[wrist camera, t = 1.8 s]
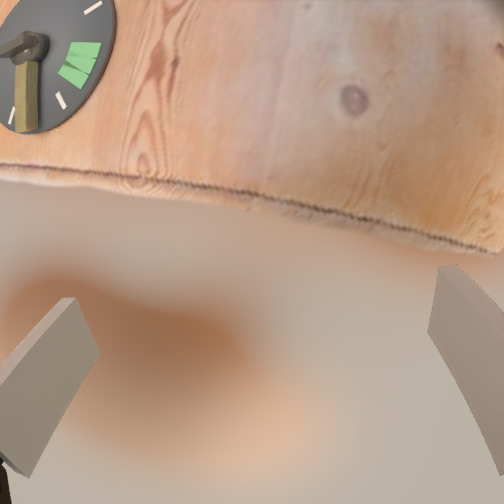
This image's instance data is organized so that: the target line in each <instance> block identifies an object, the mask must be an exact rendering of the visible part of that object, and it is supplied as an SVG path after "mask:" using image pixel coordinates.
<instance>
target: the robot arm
mask: <svg viewBox="0 0 504 504" xmlns="http://www.w3.org/2000/svg"><path fill="white" fill-rule="evenodd" d="M428 334H429V335H430V337H431V339H432V340H433V342H434V344H435V345H436V347H437V349H438V351H439V352H440V354H441V356H442V357H443V359H444V361H445V363H446V365H447V366H448V368H449V370H450V372H451V374H452V375H453V377H454V379H455V381H456V383H457V384H458V387H459V388H460V390H461V392H462V394H463V396H464V398H465V400H466V402H467V404H468V405H469V408H470V410H471V412H472V414H473V416H474V418H475V420H476V422H477V424H478V426H479V428H480V431H481V433H482V435H483V437H484V439H485V441H486V444H487V446H488V448H489V450H490V453H491V455H492V457H493V460H494V462H495V464H496V467H497V470H498V472H499V475H500V476H501V475H503V474H504V312H503V311H502V310H501V309H500V307H499V306H498V305H497V304H496V303H495V302H494V301H493V300H492V299H491V298H490V297H489V296H488V295H487V294H486V293H485V292H484V291H483V290H482V289H481V288H480V287H479V286H478V285H477V284H476V283H475V282H474V281H473V280H472V279H471V278H470V277H469V276H468V275H467V274H466V273H465V272H464V271H463V270H462V269H461V268H460V267H459V266H458V265H457V264H455V265H448V266H441V267H439V269H438V276H437V283H436V289H435V296H434V301H433V306H432V312H431V318H430V322H429V327H428ZM99 355H100V351H99V349H98V347H97V345H96V343H95V341H94V338H93V336H92V334H91V332H90V330H89V327H88V325H87V323H86V320H85V318H84V316H83V314H82V311H81V309H80V306H79V304H78V301H77V299H76V298H62V299H61V300H60V301H59V302H58V303H57V304H56V305H55V306H54V307H53V308H52V309H51V310H50V311H49V312H48V313H47V314H46V315H45V316H44V317H43V319H42V320H41V321H40V322H39V323H38V324H37V325H36V326H35V327H34V328H33V329H32V330H31V332H30V333H29V334H28V335H27V336H26V337H25V338H24V339H23V340H22V341H21V343H20V344H19V345H18V346H17V347H16V348H15V349H14V351H13V352H12V353H11V354H10V355H9V356H8V358H7V359H6V360H5V361H4V362H3V364H2V365H1V366H0V504H12V503H11V497H10V492H9V485H8V478H7V472H6V470H5V468H4V467H3V466H2V463H3V461H4V462H6V463H7V464H8V465H9V466H10V467H11V468H12V469H13V470H14V471H15V472H17V473H19V474H21V475H23V476H25V477H27V478H30V476H31V474H32V472H33V470H34V468H35V466H36V464H37V462H38V460H39V458H40V457H41V455H42V453H43V451H44V449H45V447H46V445H47V443H48V442H49V440H50V438H51V436H52V434H53V432H54V431H55V429H56V427H57V425H58V423H59V422H60V420H61V418H62V416H63V415H64V413H65V411H66V409H67V408H68V406H69V404H70V403H71V401H72V399H73V398H74V396H75V394H76V392H77V391H78V389H79V387H80V386H81V384H82V382H83V381H84V379H85V378H86V376H87V374H88V373H89V371H90V369H91V368H92V366H93V365H94V363H95V361H96V360H97V358H98V357H99Z"/></svg>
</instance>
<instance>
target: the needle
mask: <svg viewBox="0 0 504 504" xmlns="http://www.w3.org/2000/svg"><path fill="white" fill-rule="evenodd" d="M48 47H49V40H48V37H47V36H46V35H45V34H42V33H38V32H33V31H24V32H22V33H21V34H20V35H19V36H18V37H17V38H15V39H13V40H11V41H9V42H7V43H5V44H4V45H2V46H0V58H10V59H11V62H12V63H13V64H14V65H16V72H15V132H16V133H19V132H25V131H29V130H33V129H37V128H38V116H37V80H38V64H39V63H40V62H41V61H42V60H43V59H44V57H45V55H46V53H47V51H48Z"/></svg>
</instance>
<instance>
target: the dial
mask: <svg viewBox="0 0 504 504" xmlns="http://www.w3.org/2000/svg"><path fill="white" fill-rule="evenodd" d="M24 31H33V32H38V33H42V34H45V35H46V36H47V37H48V40H49V47H48V51H47V53H46V55H45V57H44V59H43V60H42V61H41V62H40V63H39V64H38V80H37V116H38V128H37V129H33V130H29V131H25V132H19V133H20V134H33V133H40V132H44V131H47V130H50V129H52V128H54V127H56V126H58V125H60V124H61V123H63V122H64V121H66V120H67V119H68V118H69V117H71V116H72V115H73V114H74V113H75V112H76V111H77V110H78V109H79V108H80V107H81V106H82V105H83V104H84V102H85V101H86V100H87V98H88V97H89V96H90V95H91V93H92V91H93V90H94V88H95V87H96V85H97V84H98V82H99V80H100V78H101V76H102V74H103V72H104V70H105V68H106V65H107V63H108V61H109V58H110V55H111V52H112V48H113V44H114V40H115V32H116V12H115V6H114V3H113V0H20V1H19V2H18V3H17V5H16V6H15V7H14V8H13V9H12V11H11V12H10V13H9V15H8V16H7V18H6V19H5V21H4V23H3V24H2V26H1V28H0V46H2V45H4V44H5V43H7V42H9V41H11V40H13V39H15V38H17V37H18V36H19V35H20V34H21V33H22V32H24ZM15 72H16V65H14V64H13V63H12V62H11V59H10V58H0V122H1V123H2V124H3V125H4V126H5V127H6V128H8V129H9V130H11V131H14V132H15Z"/></svg>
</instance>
